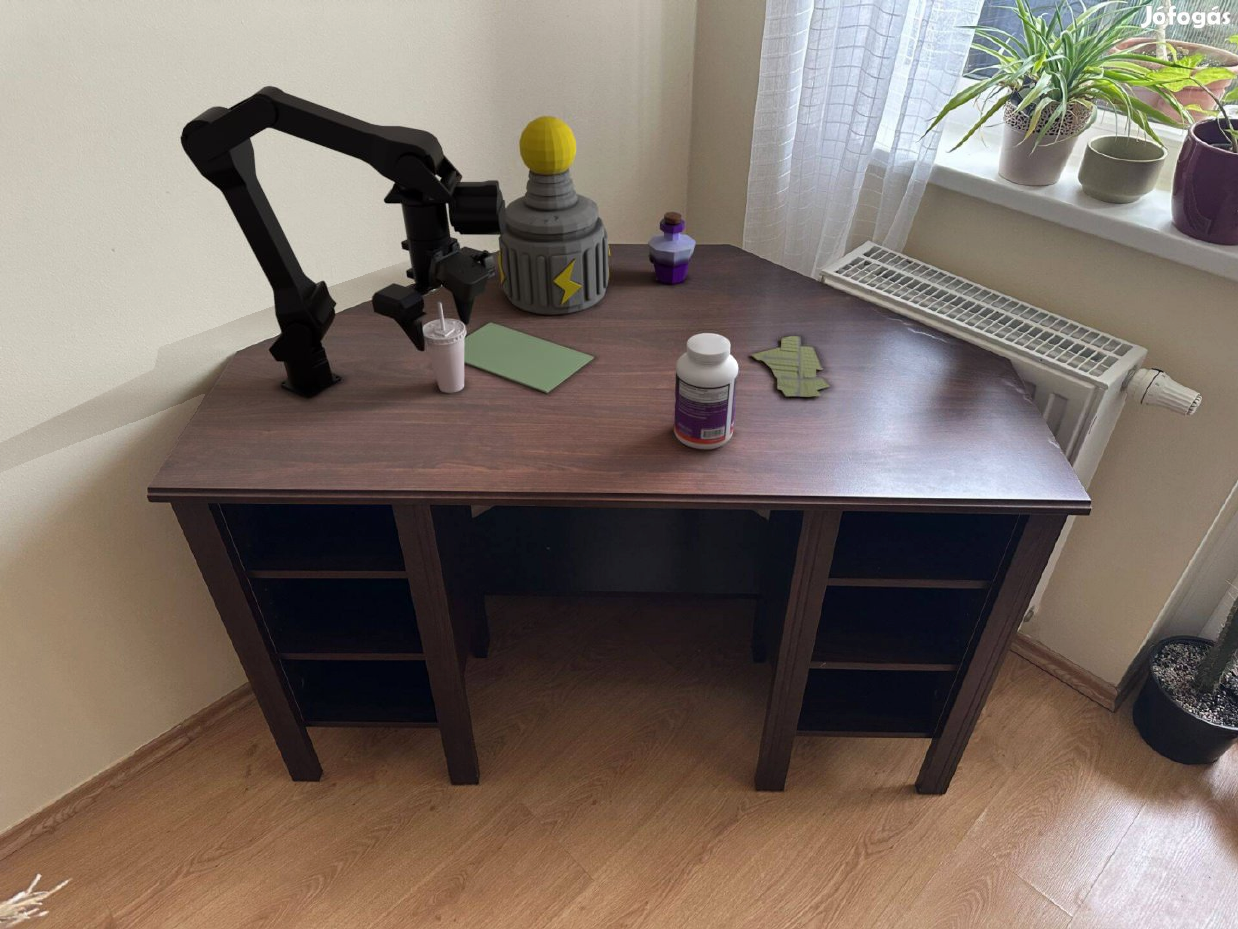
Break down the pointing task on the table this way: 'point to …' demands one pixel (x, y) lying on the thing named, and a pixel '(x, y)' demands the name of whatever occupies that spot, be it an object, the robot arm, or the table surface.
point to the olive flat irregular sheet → (794, 367)
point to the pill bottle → (705, 392)
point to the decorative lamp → (552, 230)
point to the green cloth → (521, 357)
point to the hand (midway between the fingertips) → (443, 337)
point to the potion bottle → (671, 250)
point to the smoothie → (446, 351)
